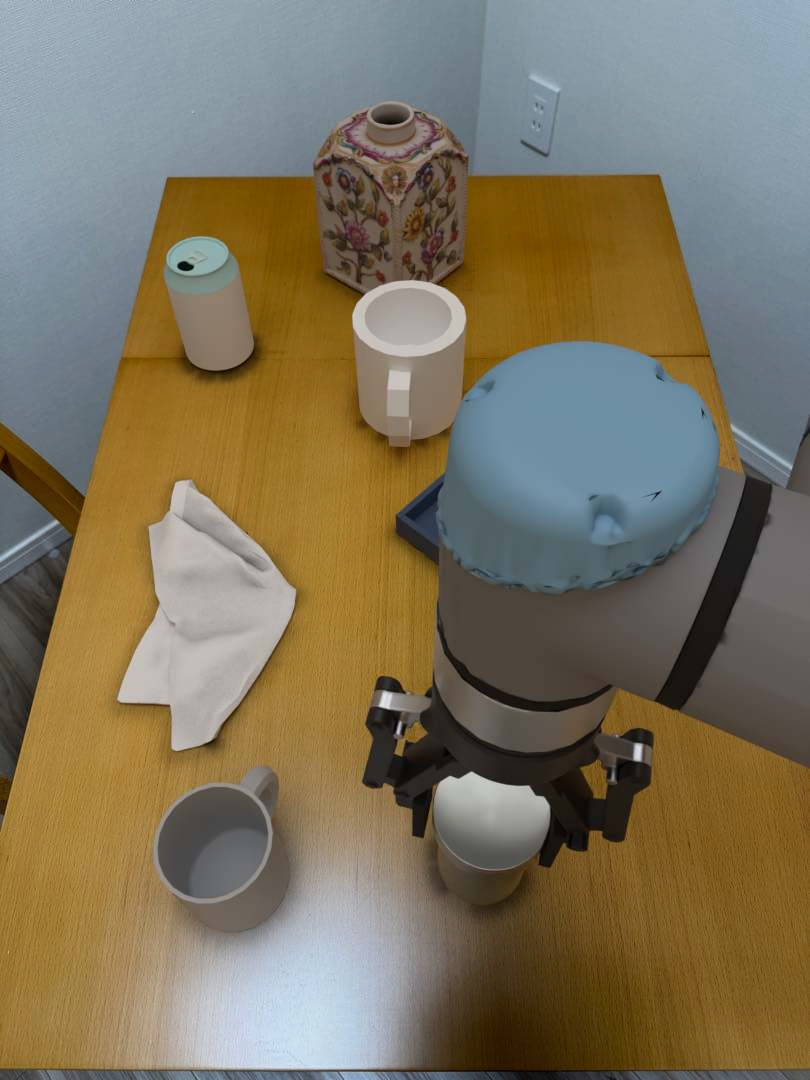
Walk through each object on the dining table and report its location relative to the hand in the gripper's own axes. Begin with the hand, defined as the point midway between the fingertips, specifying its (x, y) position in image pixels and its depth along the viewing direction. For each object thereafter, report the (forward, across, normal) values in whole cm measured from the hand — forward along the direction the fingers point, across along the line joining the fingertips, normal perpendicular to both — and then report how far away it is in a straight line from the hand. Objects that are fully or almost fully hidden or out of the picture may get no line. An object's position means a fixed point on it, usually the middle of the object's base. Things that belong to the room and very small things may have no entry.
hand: (484, 830), depth 54 cm
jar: (+7, 0, 0) cm, 7 cm away
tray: (+7, +4, -28) cm, 29 cm away
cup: (+7, +16, +4) cm, 18 cm away
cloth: (+7, +25, -16) cm, 30 cm away
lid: (-4, 0, 0) cm, 4 cm away
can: (+7, +35, -45) cm, 57 cm away
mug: (+7, +14, -41) cm, 44 cm away
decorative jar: (+7, +21, -62) cm, 65 cm away
